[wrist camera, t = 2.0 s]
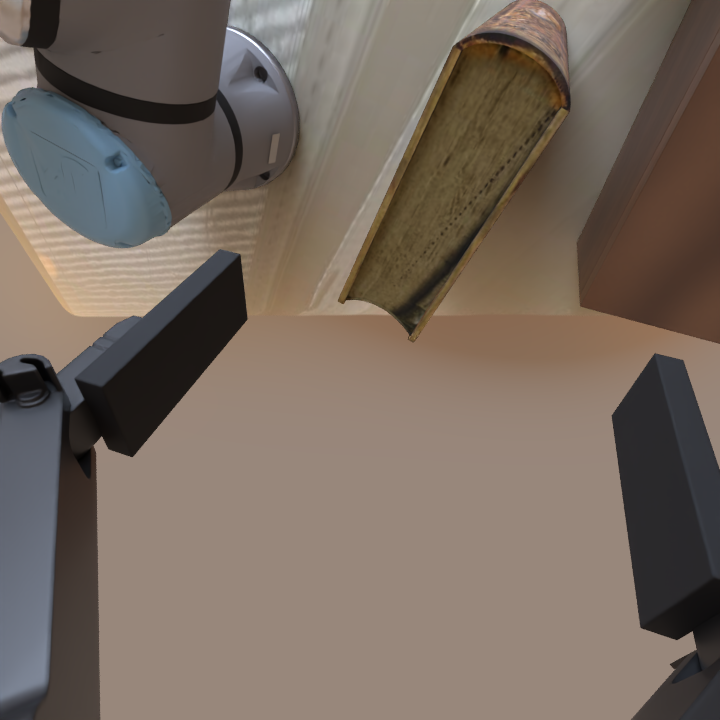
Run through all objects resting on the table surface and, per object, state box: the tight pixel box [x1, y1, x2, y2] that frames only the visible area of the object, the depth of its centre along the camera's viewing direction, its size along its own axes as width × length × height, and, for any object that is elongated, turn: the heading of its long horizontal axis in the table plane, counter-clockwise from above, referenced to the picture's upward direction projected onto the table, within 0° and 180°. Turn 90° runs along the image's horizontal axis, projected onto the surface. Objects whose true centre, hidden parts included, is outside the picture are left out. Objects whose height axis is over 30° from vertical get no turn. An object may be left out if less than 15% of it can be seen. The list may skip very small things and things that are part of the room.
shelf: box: [577, 0, 720, 344], centre depth 34 cm, size 12×20×12 cm, turn 173°
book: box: [338, 0, 571, 342], centre depth 32 cm, size 16×6×25 cm, turn 158°
